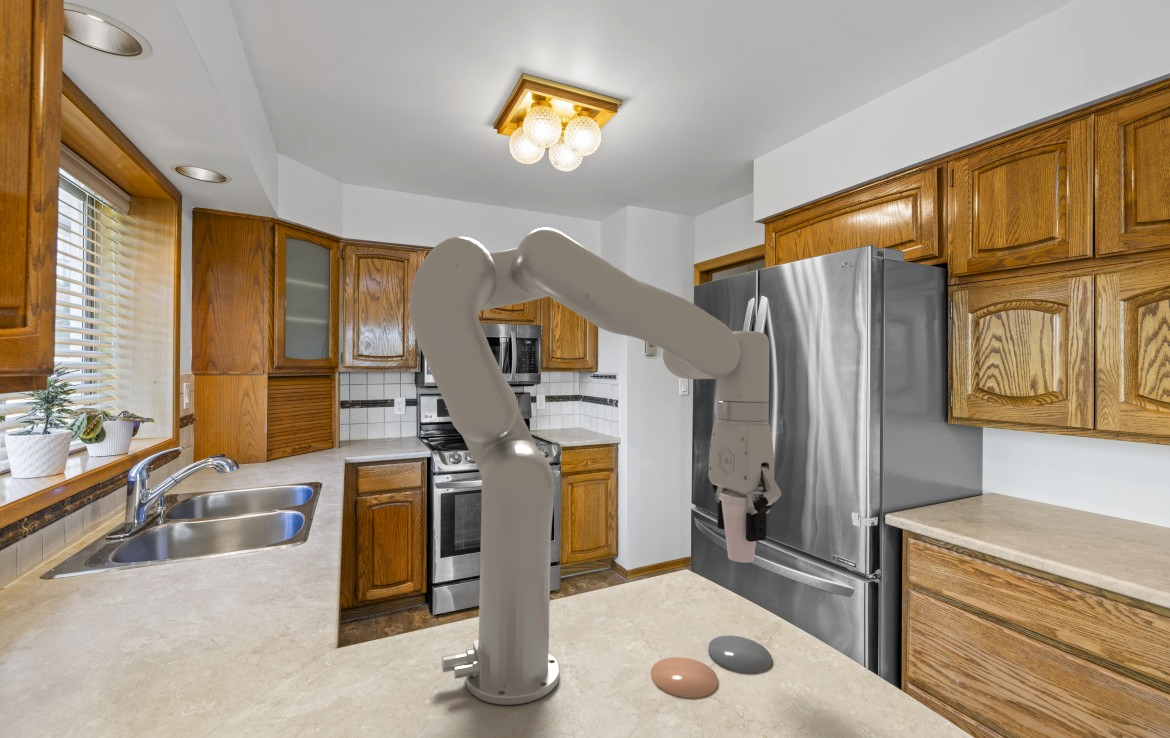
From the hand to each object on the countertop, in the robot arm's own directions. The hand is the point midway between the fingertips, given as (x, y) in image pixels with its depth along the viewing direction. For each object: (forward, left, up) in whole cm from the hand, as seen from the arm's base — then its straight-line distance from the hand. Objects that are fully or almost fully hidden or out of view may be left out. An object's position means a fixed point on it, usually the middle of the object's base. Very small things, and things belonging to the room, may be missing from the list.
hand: (740, 532), depth 78 cm
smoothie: (0, 0, -4) cm, 4 cm away
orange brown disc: (-11, -2, -19) cm, 22 cm away
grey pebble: (0, 0, -18) cm, 18 cm away
